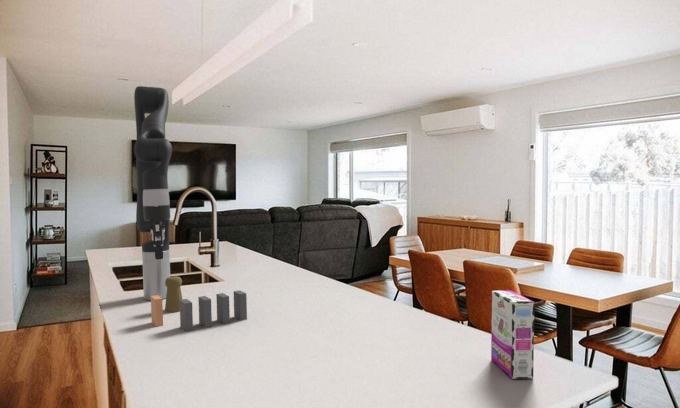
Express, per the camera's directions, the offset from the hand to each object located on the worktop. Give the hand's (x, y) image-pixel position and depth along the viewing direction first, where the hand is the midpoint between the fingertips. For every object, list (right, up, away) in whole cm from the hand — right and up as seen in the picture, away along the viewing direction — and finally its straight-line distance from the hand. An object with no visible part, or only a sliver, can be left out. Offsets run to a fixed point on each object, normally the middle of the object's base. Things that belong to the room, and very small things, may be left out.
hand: (159, 257), depth 142 cm
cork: (+1, -19, +11) cm, 22 cm away
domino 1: (+11, -19, -8) cm, 24 cm away
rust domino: (+1, -19, -3) cm, 20 cm away
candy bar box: (+93, -20, -39) cm, 103 cm away
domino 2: (+16, -19, -5) cm, 25 cm away
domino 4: (+24, -19, +1) cm, 31 cm away
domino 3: (+20, -19, -2) cm, 28 cm away
